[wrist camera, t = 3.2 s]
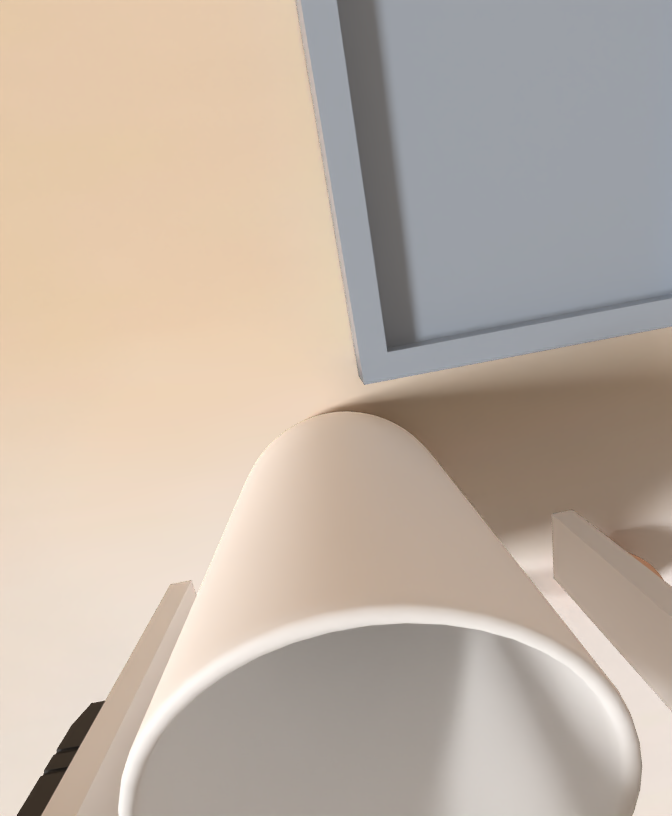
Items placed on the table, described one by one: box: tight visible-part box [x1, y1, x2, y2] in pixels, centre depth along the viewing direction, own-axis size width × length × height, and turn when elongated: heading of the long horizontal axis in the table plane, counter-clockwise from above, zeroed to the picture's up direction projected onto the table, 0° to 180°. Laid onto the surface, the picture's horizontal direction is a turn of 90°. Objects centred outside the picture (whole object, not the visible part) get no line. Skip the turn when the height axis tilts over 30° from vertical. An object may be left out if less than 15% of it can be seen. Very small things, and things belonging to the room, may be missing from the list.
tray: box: [296, 0, 672, 385], centre depth 12 cm, size 17×14×2 cm
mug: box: [118, 411, 642, 816], centre depth 11 cm, size 9×12×11 cm
